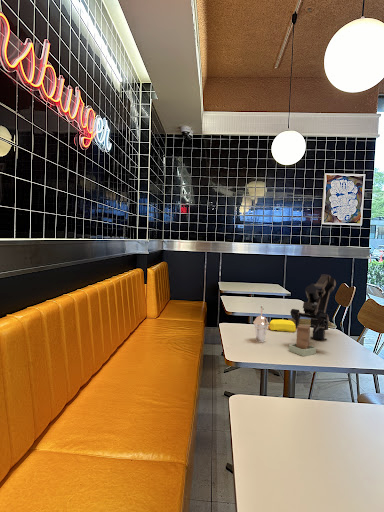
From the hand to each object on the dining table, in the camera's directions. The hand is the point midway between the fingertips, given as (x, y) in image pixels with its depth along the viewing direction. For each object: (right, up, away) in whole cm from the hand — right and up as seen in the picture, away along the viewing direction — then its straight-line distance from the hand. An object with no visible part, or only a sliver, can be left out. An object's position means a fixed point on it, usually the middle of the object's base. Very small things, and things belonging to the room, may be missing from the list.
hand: (305, 329), depth 173 cm
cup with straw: (-20, -9, +13) cm, 26 cm away
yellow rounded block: (-1, -9, +40) cm, 41 cm away
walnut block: (-2, -11, -2) cm, 11 cm away
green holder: (-3, -11, -3) cm, 11 cm away
